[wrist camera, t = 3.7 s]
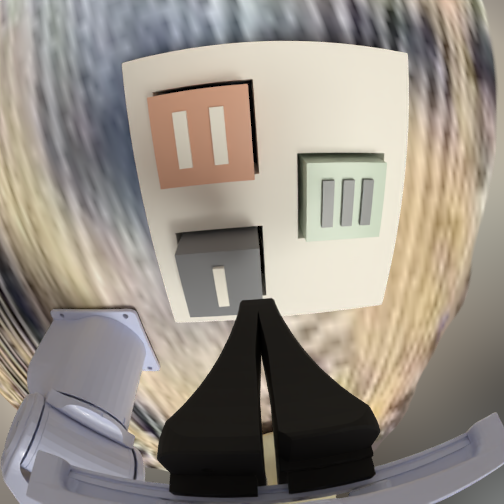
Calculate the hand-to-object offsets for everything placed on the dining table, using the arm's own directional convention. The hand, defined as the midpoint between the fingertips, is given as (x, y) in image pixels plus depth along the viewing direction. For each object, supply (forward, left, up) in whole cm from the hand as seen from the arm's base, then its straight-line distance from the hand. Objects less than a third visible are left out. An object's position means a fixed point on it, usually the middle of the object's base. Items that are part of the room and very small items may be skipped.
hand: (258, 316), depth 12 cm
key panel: (+2, +3, -8) cm, 9 cm away
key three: (+5, +3, -8) cm, 10 cm away
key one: (-2, -1, -7) cm, 7 cm away
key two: (-2, +7, -7) cm, 10 cm away
